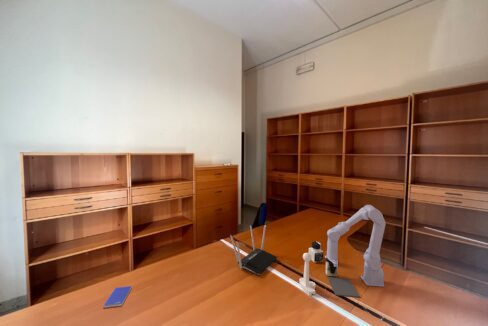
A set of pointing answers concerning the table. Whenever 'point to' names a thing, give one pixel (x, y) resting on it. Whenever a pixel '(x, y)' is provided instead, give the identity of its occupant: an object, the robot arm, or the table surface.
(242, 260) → the wireless router
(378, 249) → the robot arm
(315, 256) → the medicine bottle
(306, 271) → the joystick
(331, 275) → the slab
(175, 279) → the table surface
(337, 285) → the mat
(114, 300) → the hard drive
